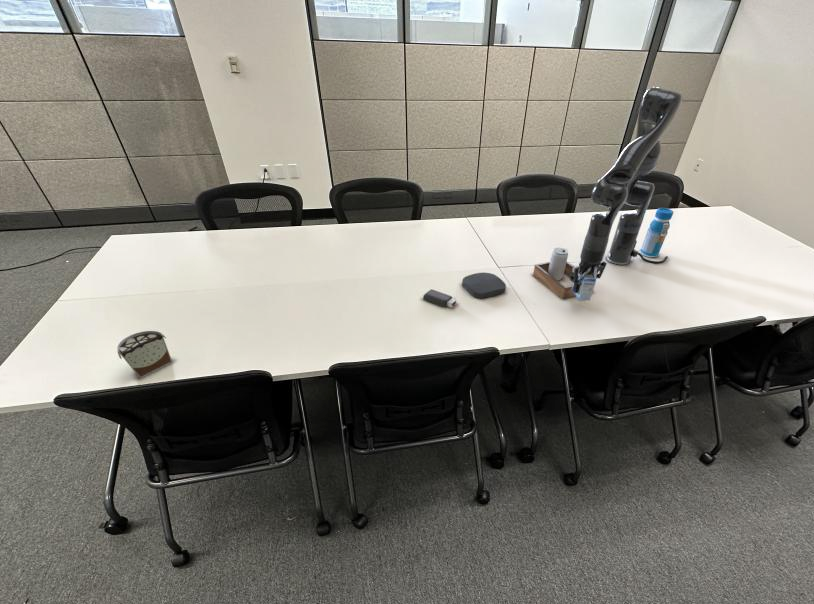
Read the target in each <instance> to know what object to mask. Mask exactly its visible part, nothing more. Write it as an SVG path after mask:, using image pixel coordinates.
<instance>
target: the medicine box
mask: <svg viewBox="0 0 814 604" xmlns="http://www.w3.org/2000/svg"><path fill="white" fill-rule="evenodd" d="M581 275H583V274H582V273H581ZM579 279H580V277H579V278H578V280H579ZM596 282H597V279H595V277H594V276H593V275H592V274H588V275H587V276H586V277H584V278H583V279H582V281H581V283H580V288H579V291H578V293H575V292H574V291H573V288H572V291H573V292H574V294H575V295H576V296H575V298H576V299H577V300H578V301H579V302H589V301H591V299H592V296H593V292H594V289H595V285H596ZM572 285H574V283H573V284H572Z"/></svg>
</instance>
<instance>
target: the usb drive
mask: <svg viewBox="0 0 814 604" xmlns="http://www.w3.org/2000/svg"><path fill="white" fill-rule="evenodd" d="M422 297H423V298H422V299H423V301H426V302H428V303H432V304H434V305H437V306H440V307H441V308H442V307H443V308H447V307H448V308H453V307H455V306H456V305H457V299H455V298H453V296H452V295H449V294H446V293H443V292H440V291H438V290H435V289H430V290H428V291H427V292H425V293H424V295H423V296H422Z"/></svg>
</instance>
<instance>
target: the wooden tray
mask: <svg viewBox="0 0 814 604" xmlns="http://www.w3.org/2000/svg"><path fill="white" fill-rule="evenodd" d="M549 265H550V261H547V262H541V263H536V264H534V265H533V266H534V267H533V273H532V276H533V277H534V278H535V279H537V280H539V282H541V284H543V285H544V286H546V287H547V288H548V289H549V290H551V291H552V292H553V293H554V294H556V295H557V296H558V297H559V298H561V299H562V300H564V299H568V298H572V297H576V295H575V294H574V292H573V291H572V288H573V284H571V285H567V286H565V284H563V283H561V282H560V280H558V281H557V280H556V279H555V278H554V277H552V276H551V275H550V274H548V270H549ZM572 266H574V265H573V264H571V263H570V262H569V261H567V262H566V266H565V270H564V274H565V275H566V276H568V277H569V278H570V276H571V267H572Z"/></svg>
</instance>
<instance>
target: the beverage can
mask: <svg viewBox="0 0 814 604" xmlns="http://www.w3.org/2000/svg"><path fill="white" fill-rule="evenodd" d="M568 257H569V250H568V249H566V248H564V247H555V248H553V251H551V256H550V260H549V262H550V265H549V270H548V274H550V275H551V276H552V277H554V278H555V279H556V280H557V281H560V280H562V279H563V278H564V274H565V273H564V270H565V266H566V262H568Z"/></svg>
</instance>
